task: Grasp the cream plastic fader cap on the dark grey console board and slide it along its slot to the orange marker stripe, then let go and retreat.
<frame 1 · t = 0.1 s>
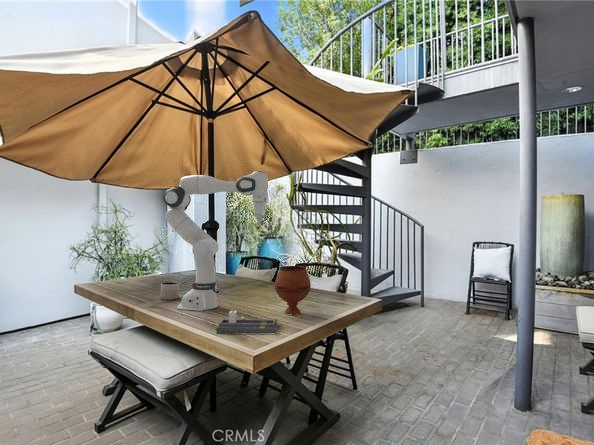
hand: (259, 223, 193), 48 cm above the table, fingers open, 8 cm apart
terracotta clay pot: (292, 313, 181), on the table
planter: (169, 298, 213), on the table
console: (248, 329, 154), on the table
fader cap: (232, 317, 154), point 5 cm above the table, slide at -7.0 cm
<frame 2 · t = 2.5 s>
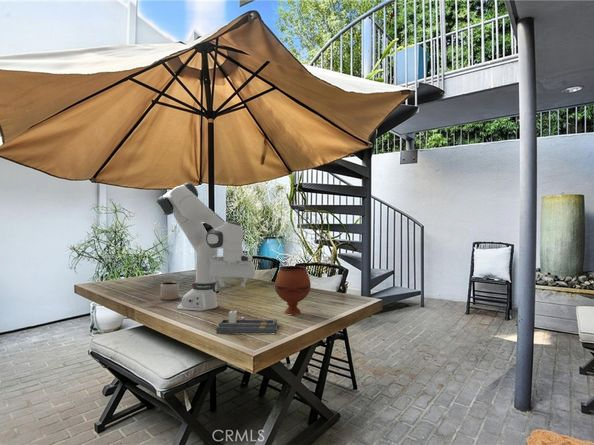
hand: (232, 286, 154), 19 cm above the table, fingers open, 8 cm apart
nothing on the table moved.
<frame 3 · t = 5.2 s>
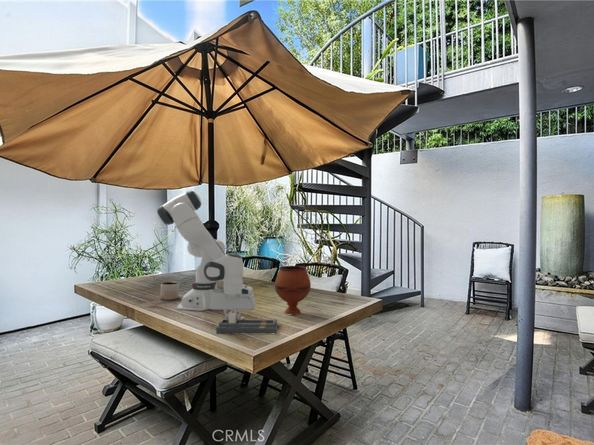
hand: (232, 319, 154), 4 cm above the table, fingers closed on fader cap, 3 cm apart
fader cap: (232, 317, 154), point 5 cm above the table, slide at -7.0 cm, touching gripper
everything else where it was.
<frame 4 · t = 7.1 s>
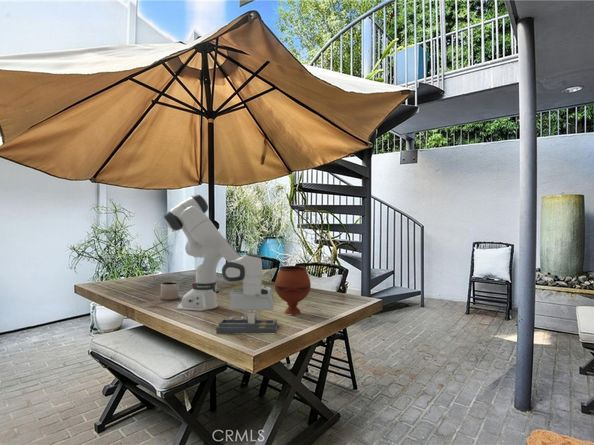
hand: (251, 319, 154), 4 cm above the table, fingers closed on fader cap, 3 cm apart
fader cap: (251, 317, 154), point 5 cm above the table, slide at 1.7 cm, touching gripper
everything else where it was.
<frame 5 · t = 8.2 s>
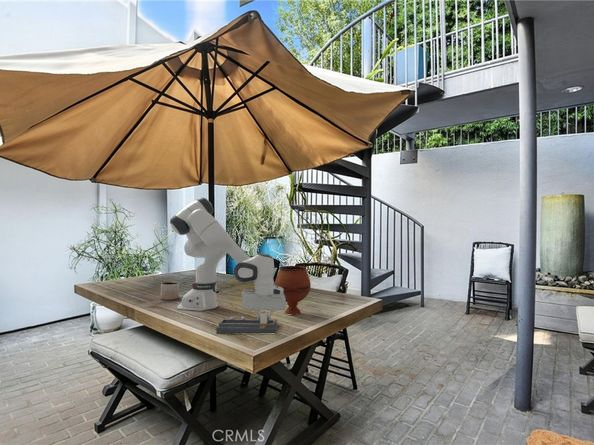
hand: (263, 319, 154), 4 cm above the table, fingers closed on fader cap, 3 cm apart
fader cap: (264, 317, 154), point 5 cm above the table, slide at 7.2 cm, touching gripper
everything else where it was.
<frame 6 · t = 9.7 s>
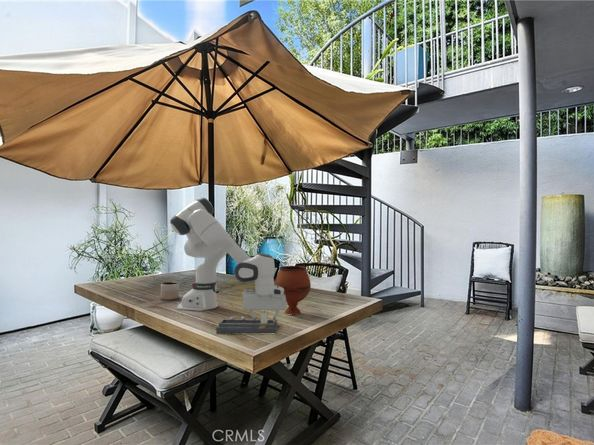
hand: (264, 319, 154), 4 cm above the table, fingers open, 8 cm apart
fader cap: (264, 317, 154), point 5 cm above the table, slide at 7.4 cm
everything else where it was.
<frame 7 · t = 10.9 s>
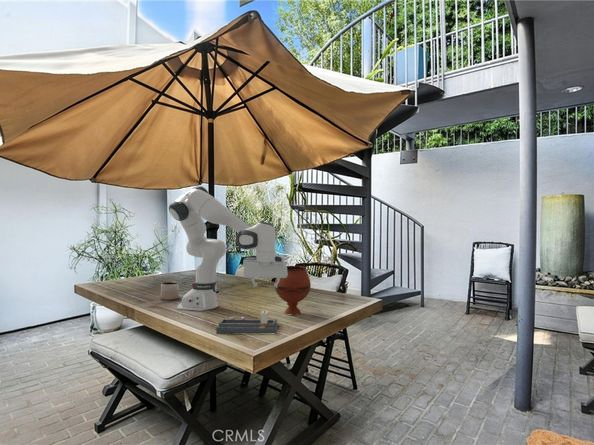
hand: (265, 287, 154), 19 cm above the table, fingers open, 8 cm apart
nothing on the table moved.
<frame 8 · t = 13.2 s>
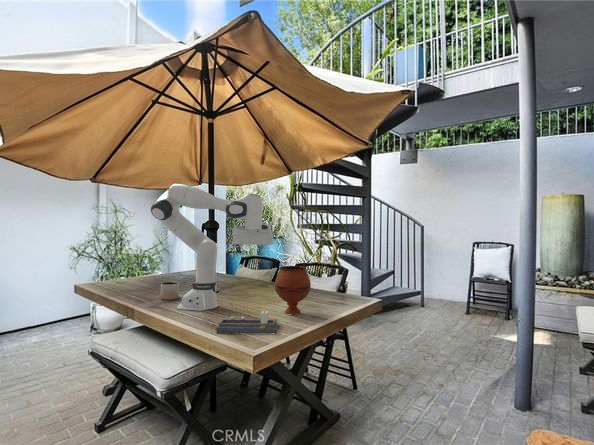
hand: (253, 253, 169), 33 cm above the table, fingers open, 8 cm apart
nothing on the table moved.
at the end: fader cap slide at 7.4 cm; the gripper is holding nothing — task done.
